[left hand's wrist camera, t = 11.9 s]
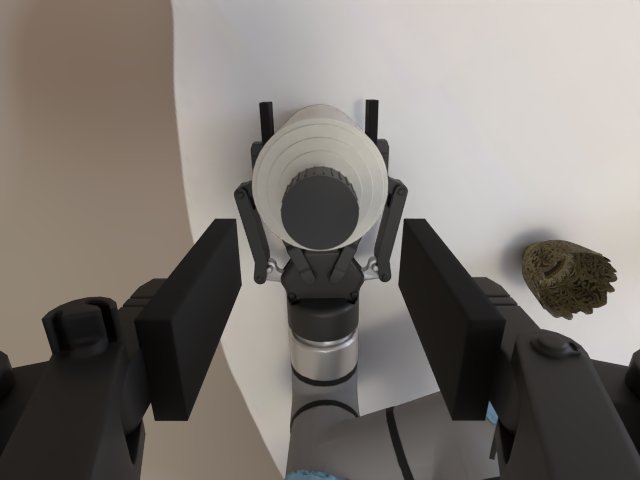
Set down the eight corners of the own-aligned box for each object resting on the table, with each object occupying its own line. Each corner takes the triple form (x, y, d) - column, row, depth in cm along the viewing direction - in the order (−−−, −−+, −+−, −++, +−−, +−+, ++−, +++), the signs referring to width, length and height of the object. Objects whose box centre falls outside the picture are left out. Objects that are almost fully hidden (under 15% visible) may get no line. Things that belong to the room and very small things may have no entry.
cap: (307, 150, 20) (306, 158, 18) (370, 189, 21) (376, 201, 18) (270, 212, 21) (265, 226, 19) (331, 247, 22) (332, 264, 20)
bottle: (306, 87, 38) (289, 87, 17) (375, 133, 40) (438, 185, 19) (266, 159, 41) (207, 237, 20) (332, 199, 43) (344, 311, 21)
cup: (566, 216, 43) (618, 243, 36) (570, 273, 46) (619, 309, 38) (499, 234, 44) (536, 264, 36) (507, 289, 46) (543, 327, 39)
